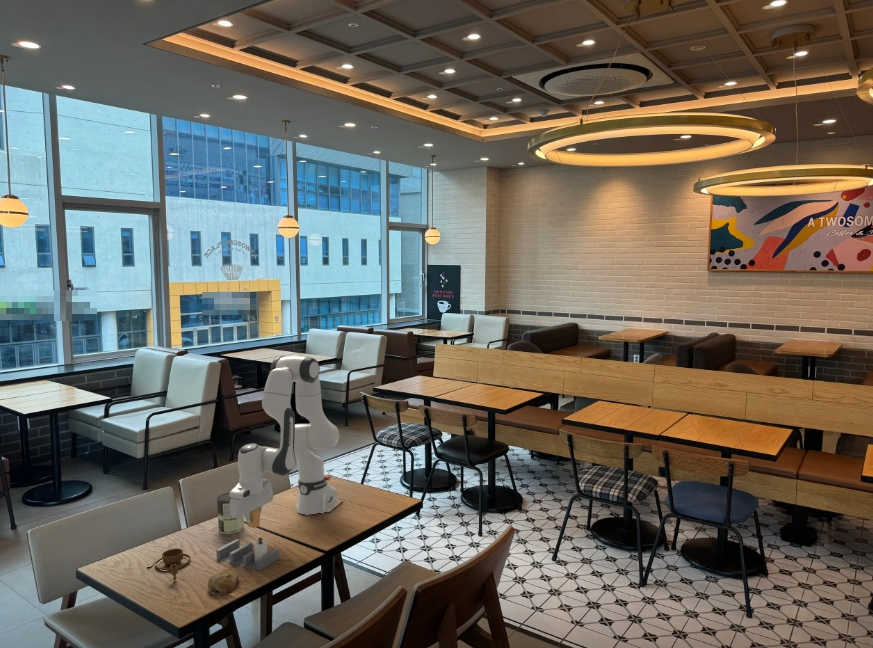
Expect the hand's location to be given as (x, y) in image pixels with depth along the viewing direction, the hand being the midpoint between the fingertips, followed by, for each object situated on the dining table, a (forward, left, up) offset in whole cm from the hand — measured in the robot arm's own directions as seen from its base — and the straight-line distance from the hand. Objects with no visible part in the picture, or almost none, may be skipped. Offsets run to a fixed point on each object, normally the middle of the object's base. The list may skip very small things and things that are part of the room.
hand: (253, 520), depth 239 cm
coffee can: (-6, -19, -10) cm, 22 cm away
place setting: (+29, -14, -10) cm, 34 cm away
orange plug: (0, 0, -2) cm, 2 cm away
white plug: (+13, +15, -8) cm, 22 cm away
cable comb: (+13, +9, -9) cm, 18 cm away
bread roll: (+30, +15, -10) cm, 35 cm away
